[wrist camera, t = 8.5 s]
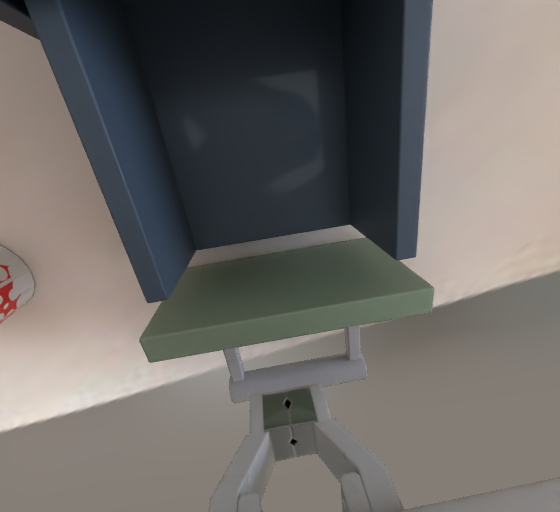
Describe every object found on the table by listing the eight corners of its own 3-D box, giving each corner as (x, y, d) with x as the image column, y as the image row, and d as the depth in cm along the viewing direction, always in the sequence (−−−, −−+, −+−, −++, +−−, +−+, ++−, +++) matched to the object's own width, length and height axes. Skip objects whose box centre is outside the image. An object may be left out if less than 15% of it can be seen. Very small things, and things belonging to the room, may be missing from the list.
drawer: (369, 318, 18) (424, 398, 12) (207, 347, 18) (184, 443, 12) (365, -38, 11) (489, -246, 5) (94, 0, 11) (-97, -176, 5)
